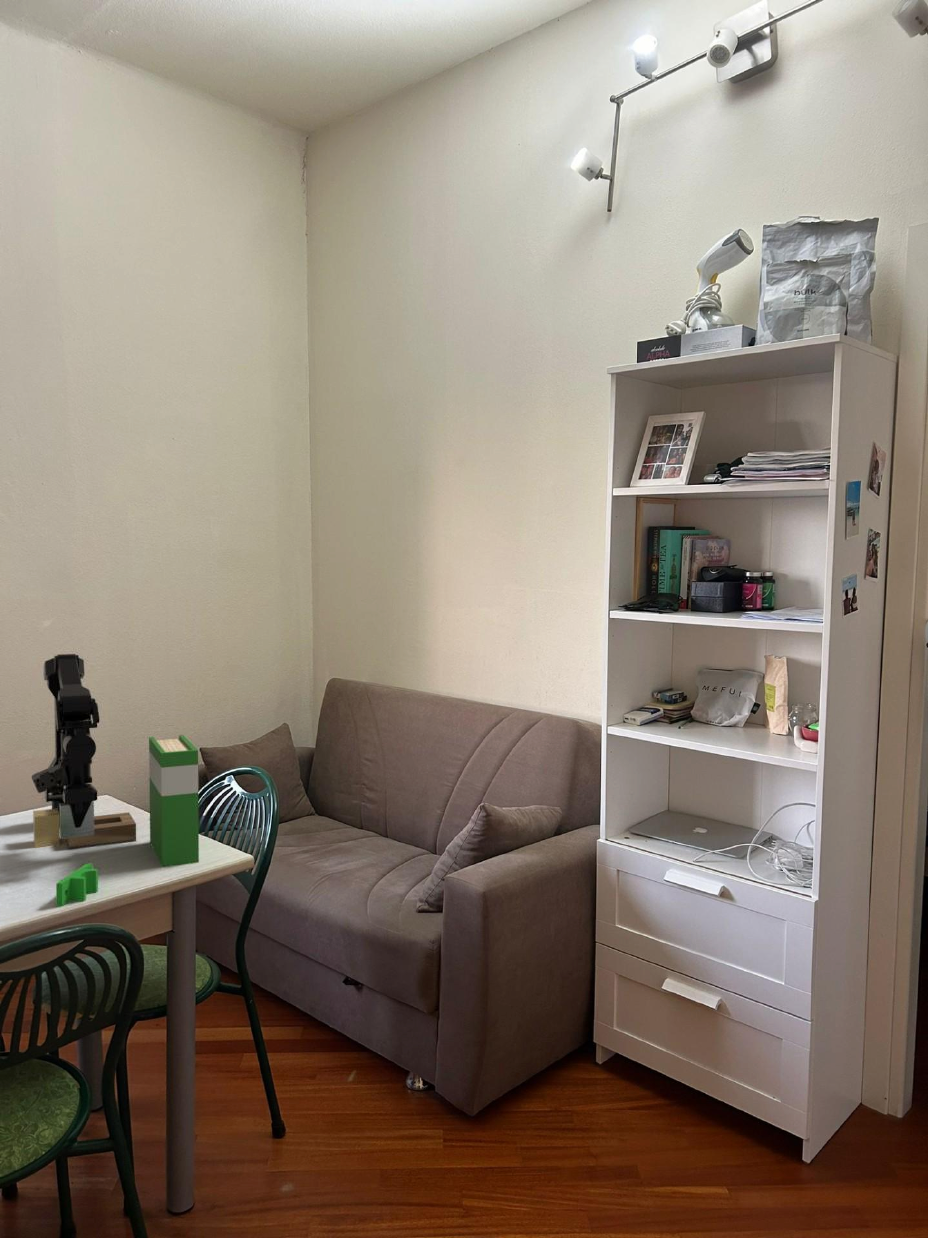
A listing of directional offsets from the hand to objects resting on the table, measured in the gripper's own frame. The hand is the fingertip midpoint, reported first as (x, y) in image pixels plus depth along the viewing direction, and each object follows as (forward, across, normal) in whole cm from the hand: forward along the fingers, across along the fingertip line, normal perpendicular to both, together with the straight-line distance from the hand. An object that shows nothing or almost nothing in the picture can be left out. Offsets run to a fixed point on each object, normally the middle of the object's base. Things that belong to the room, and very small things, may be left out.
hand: (77, 825), depth 198 cm
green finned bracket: (+8, +23, -2) cm, 24 cm away
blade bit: (+2, 0, 0) cm, 2 cm away
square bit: (+7, -14, -5) cm, 17 cm away
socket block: (+7, -12, +6) cm, 15 cm away
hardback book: (+7, +4, +19) cm, 21 cm away
